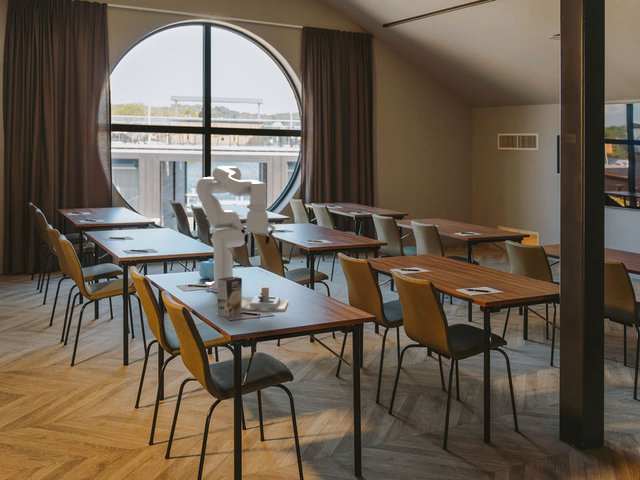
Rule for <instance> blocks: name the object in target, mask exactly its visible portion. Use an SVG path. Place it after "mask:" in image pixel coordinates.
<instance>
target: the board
mask: <svg viewBox="0 0 640 480" xmlns="http://www.w3.org/2000/svg"><path fill="white" fill-rule="evenodd" d="M257 296H258V298H259V299H260V302H263V299H264V298H265V296H262V292H260V295H257ZM251 301H252V299H242V310H257V311H256V312H285V311H286V309H287V308H288V307H287V306H288V303H289V300H288V299H287V300H283V299H282V300H281V299H280V301H279V304H278V306H277V308H250V302H251Z"/></svg>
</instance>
